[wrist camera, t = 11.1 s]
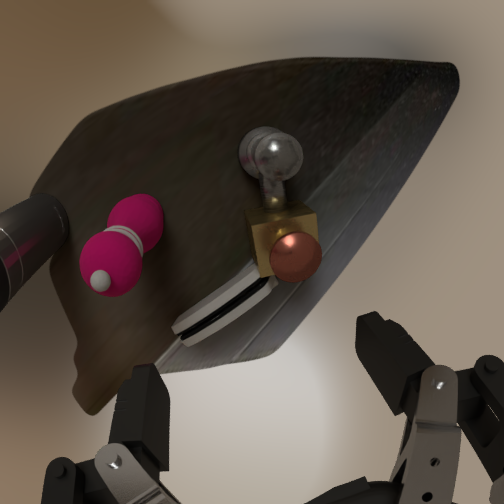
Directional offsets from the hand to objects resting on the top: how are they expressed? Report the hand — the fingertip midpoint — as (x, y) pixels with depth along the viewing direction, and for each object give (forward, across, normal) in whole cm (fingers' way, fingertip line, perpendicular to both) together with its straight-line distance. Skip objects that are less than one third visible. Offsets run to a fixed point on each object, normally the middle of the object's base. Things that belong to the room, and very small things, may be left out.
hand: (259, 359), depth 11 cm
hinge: (+32, +2, +16) cm, 36 cm away
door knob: (+30, -7, -4) cm, 31 cm away
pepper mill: (+32, +11, +1) cm, 34 cm away
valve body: (+32, -7, +1) cm, 33 cm away
